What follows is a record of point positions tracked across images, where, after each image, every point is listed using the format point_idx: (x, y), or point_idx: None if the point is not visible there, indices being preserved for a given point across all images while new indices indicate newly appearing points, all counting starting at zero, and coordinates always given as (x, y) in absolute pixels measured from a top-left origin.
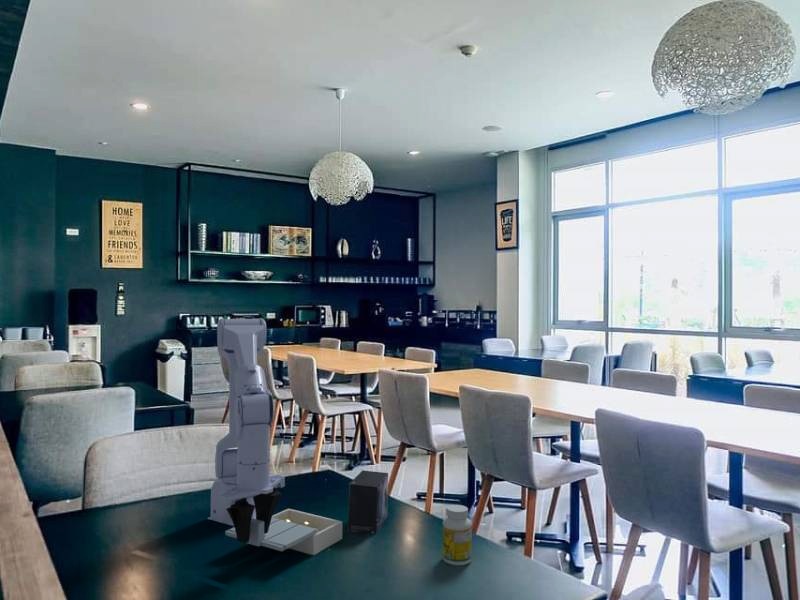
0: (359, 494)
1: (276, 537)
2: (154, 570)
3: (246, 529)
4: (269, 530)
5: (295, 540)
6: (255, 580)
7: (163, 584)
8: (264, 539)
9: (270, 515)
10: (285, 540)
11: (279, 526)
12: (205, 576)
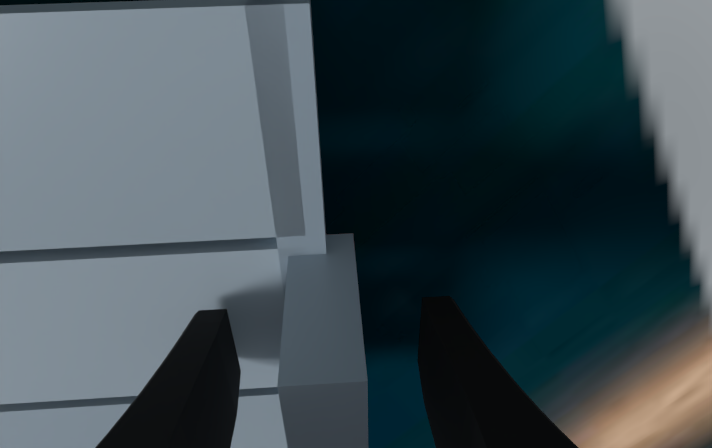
0: None
1: (182, 214)
2: None
3: (510, 376)
4: (134, 340)
5: (74, 9)
6: (446, 72)
7: (640, 353)
8: (280, 258)
9: (144, 432)
10: (162, 100)
11: (22, 339)
12: (520, 295)
